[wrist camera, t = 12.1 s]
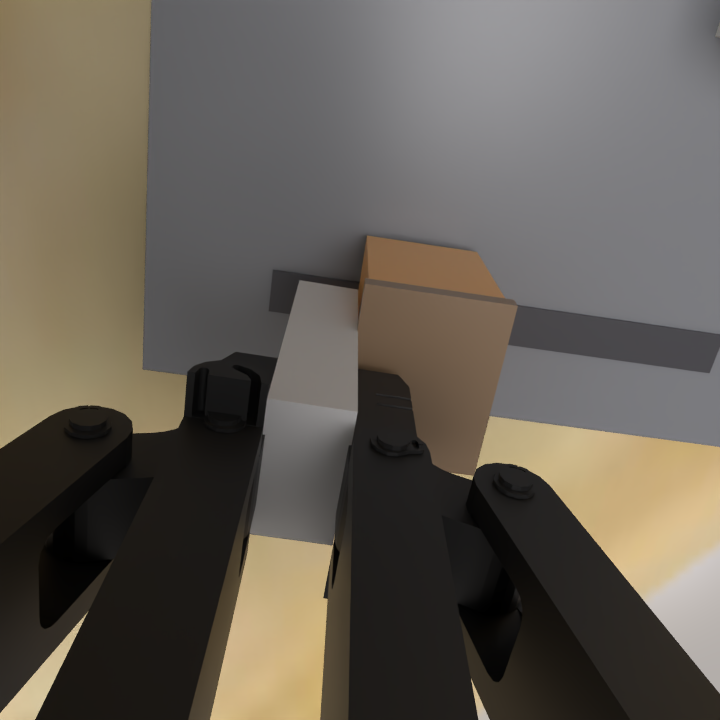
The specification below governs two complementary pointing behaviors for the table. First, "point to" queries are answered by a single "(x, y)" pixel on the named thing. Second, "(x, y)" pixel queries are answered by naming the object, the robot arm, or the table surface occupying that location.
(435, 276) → the brown rectangular block
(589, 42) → the grey slider board
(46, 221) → the table surface
